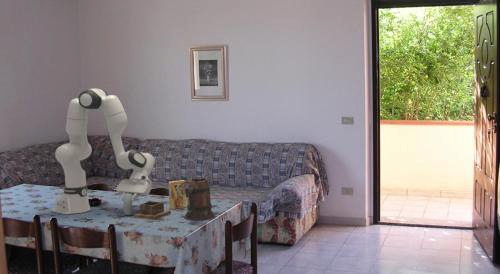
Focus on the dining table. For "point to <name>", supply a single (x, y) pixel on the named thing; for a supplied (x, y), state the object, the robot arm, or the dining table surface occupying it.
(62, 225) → the dining table surface
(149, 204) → the slot stand
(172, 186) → the candy box
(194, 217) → the tankard
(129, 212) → the grey peg
